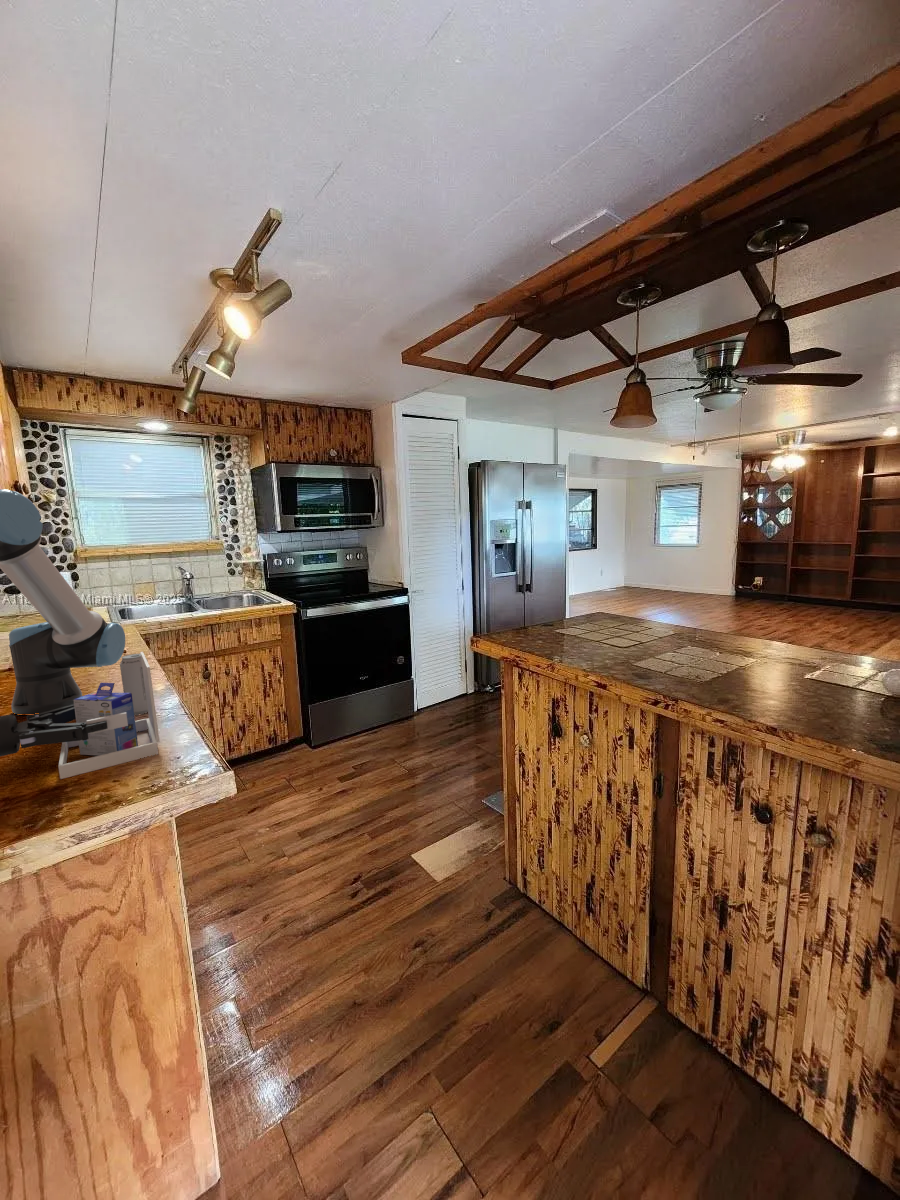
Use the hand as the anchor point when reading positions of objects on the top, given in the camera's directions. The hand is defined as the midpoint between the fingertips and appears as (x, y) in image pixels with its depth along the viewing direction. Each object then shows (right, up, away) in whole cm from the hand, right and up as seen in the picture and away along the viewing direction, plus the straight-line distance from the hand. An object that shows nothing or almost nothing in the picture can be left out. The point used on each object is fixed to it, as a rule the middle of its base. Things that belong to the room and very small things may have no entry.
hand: (125, 710), depth 105 cm
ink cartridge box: (-3, -9, -1) cm, 9 cm away
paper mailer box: (-3, -8, -1) cm, 9 cm away
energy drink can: (-11, -6, +22) cm, 26 cm away
